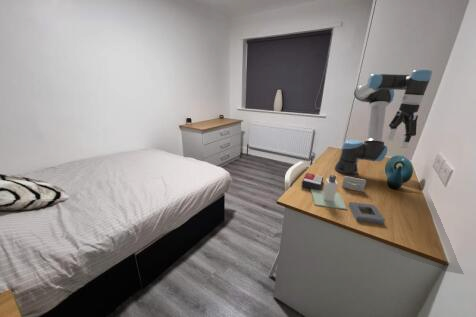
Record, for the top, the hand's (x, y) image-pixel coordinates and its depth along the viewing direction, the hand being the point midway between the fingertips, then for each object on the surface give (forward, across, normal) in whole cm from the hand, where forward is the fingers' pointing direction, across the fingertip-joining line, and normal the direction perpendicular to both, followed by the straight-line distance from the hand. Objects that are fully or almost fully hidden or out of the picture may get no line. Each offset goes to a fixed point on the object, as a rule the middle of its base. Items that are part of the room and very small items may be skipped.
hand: (396, 143), depth 107 cm
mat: (+32, +14, -32) cm, 47 cm away
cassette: (+32, -2, -14) cm, 35 cm away
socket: (+32, +24, -16) cm, 43 cm away
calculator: (+31, -2, -38) cm, 49 cm away
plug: (+31, +14, -32) cm, 47 cm away
